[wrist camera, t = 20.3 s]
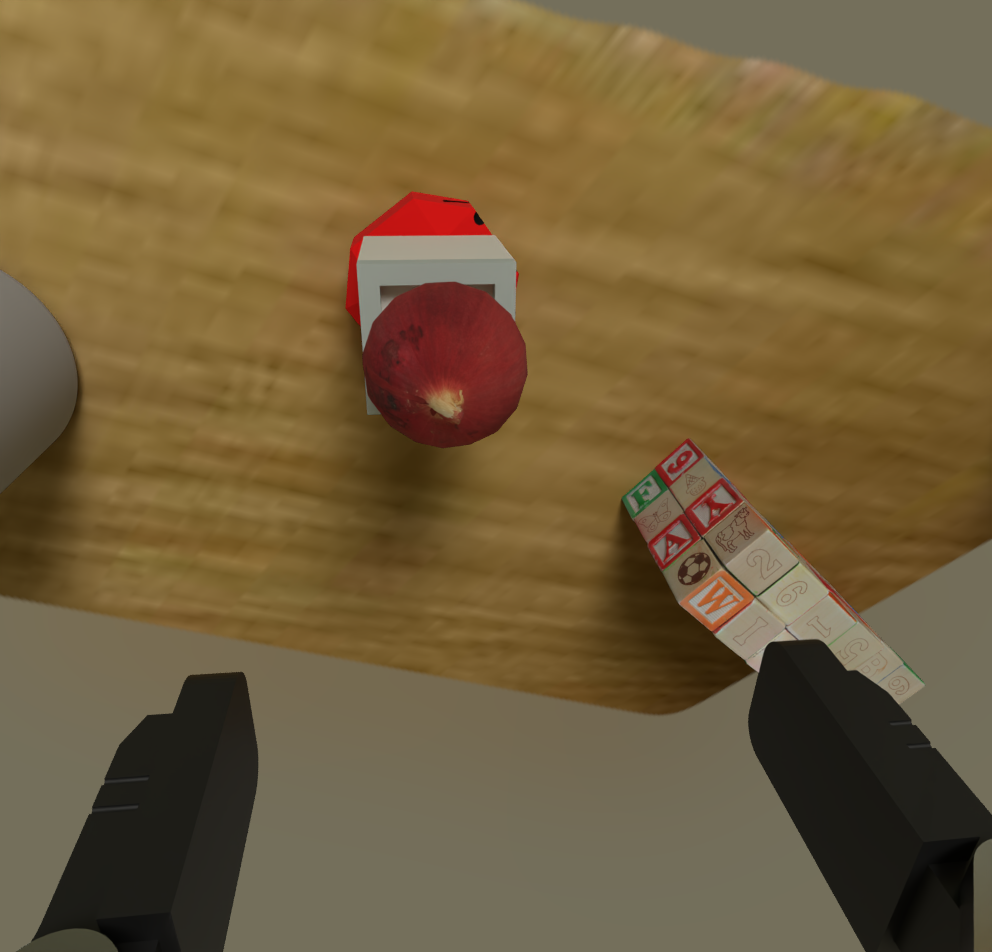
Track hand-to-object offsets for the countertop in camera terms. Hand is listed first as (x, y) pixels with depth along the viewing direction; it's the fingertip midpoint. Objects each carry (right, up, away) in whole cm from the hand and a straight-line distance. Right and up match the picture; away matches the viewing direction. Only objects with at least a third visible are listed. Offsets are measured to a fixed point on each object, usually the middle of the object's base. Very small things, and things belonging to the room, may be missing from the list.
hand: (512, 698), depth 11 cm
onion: (-2, +9, +18) cm, 21 cm away
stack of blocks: (+18, -2, +42) cm, 46 cm away
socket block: (-3, +12, +24) cm, 27 cm away
